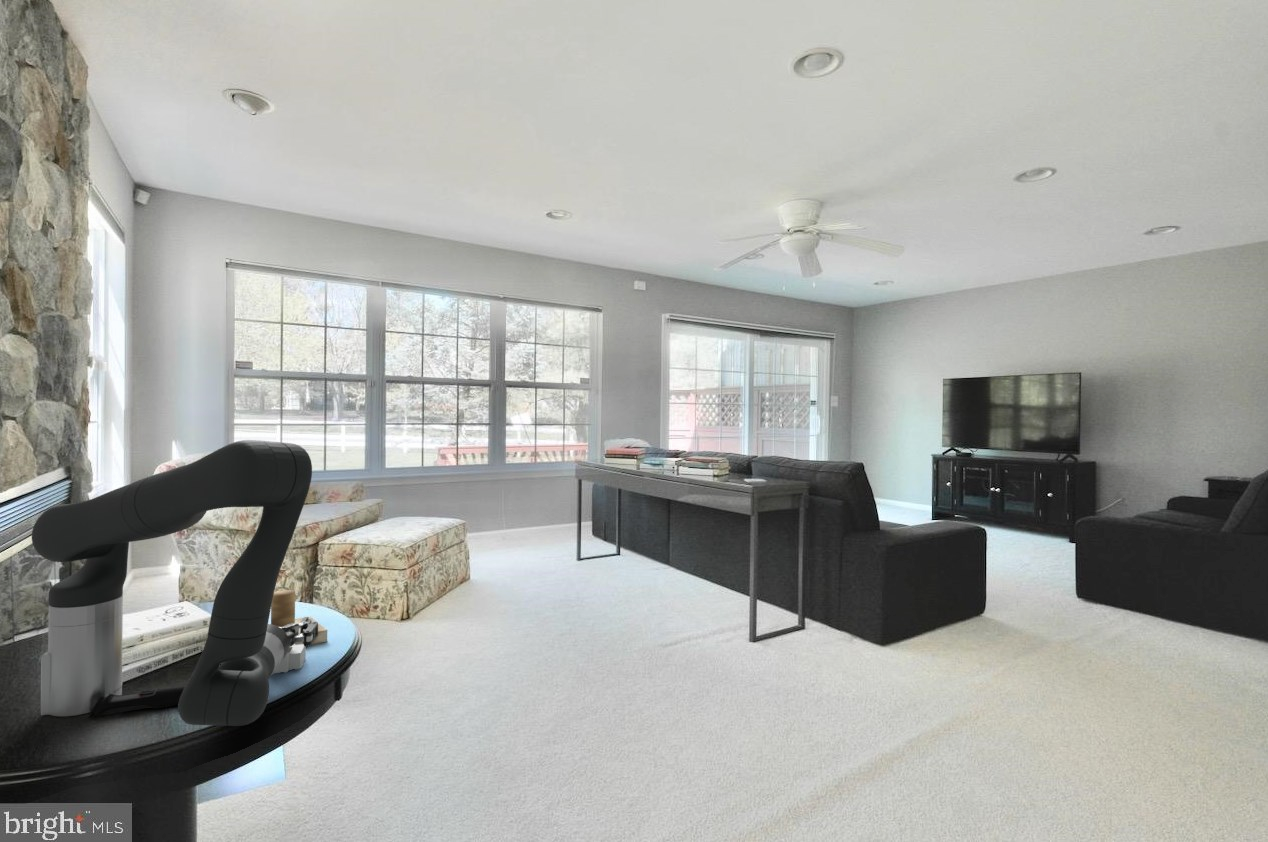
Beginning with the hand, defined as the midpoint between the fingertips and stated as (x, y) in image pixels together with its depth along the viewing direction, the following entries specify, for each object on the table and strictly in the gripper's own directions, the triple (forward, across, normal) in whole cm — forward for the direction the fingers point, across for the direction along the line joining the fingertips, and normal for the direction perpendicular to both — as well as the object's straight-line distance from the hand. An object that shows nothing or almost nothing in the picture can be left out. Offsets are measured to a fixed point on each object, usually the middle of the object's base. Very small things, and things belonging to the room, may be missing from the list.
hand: (281, 623), depth 118 cm
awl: (+2, 0, +9) cm, 9 cm away
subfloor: (+15, +6, +9) cm, 18 cm away
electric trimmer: (-11, +17, +9) cm, 22 cm away
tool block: (+2, 0, +8) cm, 9 cm away
